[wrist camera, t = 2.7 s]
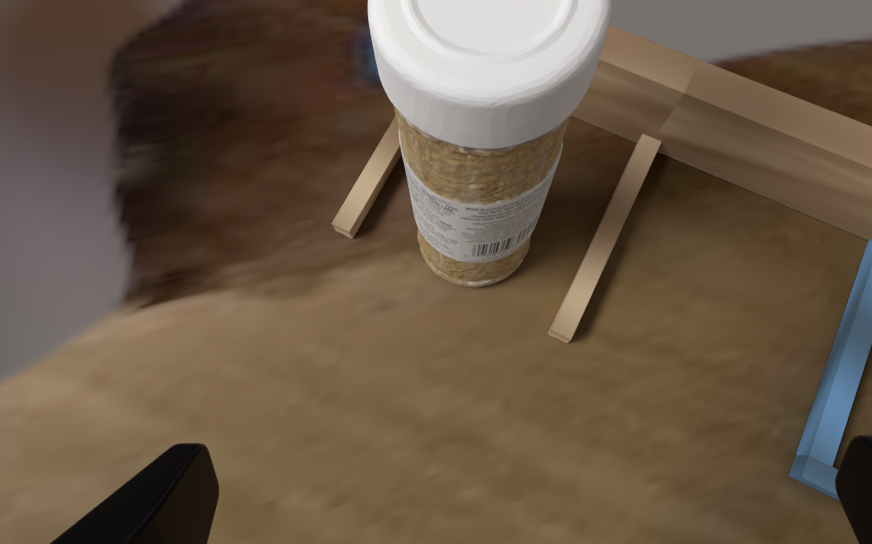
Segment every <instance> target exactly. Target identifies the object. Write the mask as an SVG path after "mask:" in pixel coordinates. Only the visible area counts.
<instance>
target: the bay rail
mask: <svg viewBox="0 0 872 544" xmlns="http://www.w3.org/2000/svg"><path fill="white" fill-rule="evenodd" d="M570 116H573V117H575V118H578V119H580V120H582V121H585V122H587V123H589V124H592V125H594V126H597V127H599V128H601V129H604V130H606V131H608V132H611V133H613V134H616V135H618V136H620V137H623V138H625V139H628V140H630V141H632V142H635V143H637V144H636V147H635V149H634V151H633V153H632V155H631V157H630V159H629V161H628V164H627V166H626V168H625V170H624V172H623V174H622V176H621V179H620V181H619V183H618V185H617V187H616V189H615V191H614V194H613V196H612V198H611V200H610V202H609V204H608V206H607V208H606V211H605V213H604V215H603V217H602V219H601V221H600V223H599V226H598V228H597V230H596V232H595V234H594V236H593V238H592V240H591V243H590V245H589V247H588V249H587V251H586V253H585V255H584V258H583V260H582V262H581V264H580V266H579V268H578V270H577V273H576V275H575V277H574V279H573V281H572V283H571V285H570V287H569V290H568V292H567V294H566V296H565V298H564V300H563V302H562V305H561V307H560V309H559V311H558V313H557V315H556V317H555V319H554V322H553V324H552V326H551V328H550V330H549V332H548V334H549V335H551V336H553V337H555V338H557V339H559V340H561V341H563V342H565V343H568V342H569V341H570V340H571V339H572V337H573V335H574V332H575V330H576V328H577V326H578V324H579V321H580V319H581V317H582V315H583V313H584V310H585V308H586V306H587V304H588V302H589V299H590V297H591V295H592V293H593V291H594V289H595V286H596V284H597V282H598V280H599V278H600V275H601V273H602V271H603V269H604V267H605V264H606V262H607V260H608V258H609V256H610V253H611V251H612V249H613V247H614V245H615V243H616V240H617V238H618V236H619V234H620V232H621V229H622V227H623V225H624V223H625V221H626V218H627V216H628V214H629V212H630V210H631V207H632V205H633V203H634V201H635V199H636V197H637V194H638V192H639V190H640V188H641V186H642V183H643V181H644V179H645V177H646V175H647V172H648V170H649V168H650V166H651V164H652V162H653V159H654V157H655V155H656V153H657V152H659V153H661V154H663V155H666V156H668V157H670V158H673V159H675V160H678V161H680V162H682V163H685V164H687V165H689V166H692V167H694V168H697V169H699V170H701V171H704V172H706V173H709V174H711V175H713V176H716V177H718V178H720V179H723V180H725V181H728V182H730V183H732V184H735V185H737V186H740V187H742V188H744V189H747V190H749V191H751V192H754V193H756V194H759V195H761V196H763V197H766V198H768V199H771V200H773V201H775V202H778V203H780V204H782V205H785V206H787V207H790V208H792V209H794V210H797V211H799V212H801V213H804V214H806V215H809V216H811V217H813V218H816V219H818V220H821V221H823V222H825V223H828V224H830V225H832V226H835V227H837V228H840V229H842V230H844V231H847V232H849V233H852V234H854V235H856V236H859V237H861V238H863V239H866V240H868V244H867V247H866V250H865V252H864V255H863V258H862V261H861V264H860V267H859V270H858V273H857V276H856V279H855V282H854V285H853V288H852V291H851V294H850V297H849V300H848V303H847V306H846V309H845V312H844V314H843V317H842V320H841V323H840V326H839V329H838V332H837V335H836V338H835V341H834V344H833V347H832V350H831V353H830V356H829V359H828V362H827V365H826V368H825V371H824V374H823V376H822V379H821V382H820V385H819V388H818V391H817V394H816V397H815V400H814V403H813V406H812V409H811V412H810V415H809V418H808V421H807V424H806V427H805V430H804V433H803V436H802V439H801V441H800V444H799V447H798V450H797V453H796V456H795V459H794V462H793V465H792V468H791V471H790V474H789V476H790V477H792V478H794V479H796V480H798V481H800V482H802V483H804V484H806V485H808V486H810V487H812V488H814V489H816V490H818V491H820V492H822V493H824V494H826V495H828V496H830V497H832V498H834V499H836V500H838V501H840V500H839V498H838V495H837V492H836V488H835V478H836V474H837V472H838V469H836V468H834V467H832V466H833V463H834V460H835V457H836V454H837V451H838V448H839V444H840V441H841V438H842V435H843V432H844V429H845V426H846V423H847V420H848V416H849V413H850V410H851V407H852V404H853V401H854V398H855V395H856V392H857V388H858V385H859V382H860V379H861V376H862V373H863V370H864V367H865V364H866V361H867V357H868V354H869V351H870V348H871V345H872V127H871V126H868V125H866V124H863V123H861V122H858V121H855V120H853V119H850V118H848V117H845V116H843V115H840V114H837V113H835V112H832V111H830V110H827V109H825V108H822V107H819V106H817V105H814V104H812V103H809V102H807V101H804V100H801V99H799V98H796V97H794V96H791V95H788V94H786V93H783V92H781V91H778V90H776V89H773V88H770V87H768V86H765V85H763V84H760V83H758V82H755V81H752V80H750V79H747V78H745V77H742V76H740V75H737V74H734V73H732V72H729V71H727V70H724V69H722V68H719V67H716V66H714V65H711V64H709V63H706V62H704V61H701V60H698V59H696V58H693V57H691V56H688V55H685V54H683V53H680V52H677V51H675V50H673V49H670V48H667V47H665V46H662V45H660V44H657V43H655V42H652V41H649V40H647V39H644V38H641V37H639V36H637V35H634V34H631V33H629V32H626V31H624V30H621V29H618V28H616V27H613V26H611V25H609V28H608V32H607V36H606V39H605V42H604V45H603V48H602V52H601V55H600V58H599V61H598V64H597V66H596V69H595V72H594V75H593V78H592V81H591V83H590V86H589V88H588V90H587V92H586V94H585V95H584V97H583V98H582V100H581V102H580V103H579V105H578V106H577V108H576V109H575V110H574V112H573V113H572V114H571V115H570ZM401 155H402V152H401V147H400V141H399V126H398V119H397V116H395V118H394V120H393V121H392V123H391V125H390V126H389V128H388V130H387V131H386V133H385V135H384V136H383V138H382V140H381V141H380V143H379V145H378V146H377V148H376V150H375V152H374V153H373V155H372V157H371V158H370V160H369V162H368V163H367V165H366V167H365V168H364V170H363V172H362V173H361V175H360V177H359V178H358V180H357V182H356V183H355V185H354V187H353V189H352V190H351V192H350V194H349V195H348V197H347V199H346V200H345V202H344V204H343V205H342V207H341V209H340V210H339V212H338V214H337V215H336V217H335V219H334V220H333V222H332V225H333V227H334V228H335V230H336V231H338V232H340V233H342V234H344V235H346V236H348V237H350V238H352V239H353V238H354V236H355V234H356V232H357V231H358V229H359V227H360V226H361V224H362V222H363V220H364V219H365V217H366V215H367V213H368V212H369V210H370V208H371V207H372V205H373V203H374V201H375V200H376V198H377V196H378V195H379V193H380V191H381V189H382V188H383V186H384V184H385V182H386V181H387V179H388V177H389V176H390V174H391V172H392V170H393V169H394V167H395V165H396V164H397V162H398V160H399V158H400V157H401Z"/></svg>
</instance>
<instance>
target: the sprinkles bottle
mask: <svg viewBox="0 0 872 544" xmlns="http://www.w3.org/2000/svg"><path fill="white" fill-rule="evenodd" d="M611 7H612V1H611V0H368V19H369V27H370V32H371V38H372V43H373V49H374V53H375V58H376V63H377V67H378V71H379V76H380V79H381V82H382V85H383V87H384V89H385V91H386V93H387V95H388V97H389V99H390V100H391V102H392V103H393V104H394V107H395V113H396V116H397V119H398V126H399V141H400V147H401V152H402V157H403V162H404V166H405V171H406V176H407V180H408V186H409V191H410V197H411V202H412V207H413V212H414V216H415V220H416V223H417V226H418V242H419V245H420V251H421V253H422V255H423V257H424V259H425V261H426V263H427V264H428V265H429V266H430V268H431V269H432V270H433V271H434V272H435V273H436V274H437V275H438V276H440V277H442V278H443V279H445V280H446V281H449V282H451V283H454V284H456V285H460V286H466V287H482V286H487V285H492V284H494V283H496V282H498V281H502V280H504V279H505V278H507V277H508V276H509V275H510V274H511V273H513V272H514V271H515V270H516V269H517V268H518V267H519V266H520V264H521V263H522V261H523V259H524V257H525V255H526V253H527V252H528V249H529V245H530V240H531V234H532V232H533V230H534V228H535V226H536V223H537V221H538V218H539V215H540V213H541V210H542V207H543V205H544V202H545V199H546V196H547V193H548V191H549V188H550V185H551V182H552V179H553V176H554V173H555V171H556V168H557V165H558V162H559V159H560V156H561V152H562V148H563V143H562V141H563V137H564V134H565V131H566V128H567V124H568V121H569V118H570V115H571V114H572V113H573V112H574V110H575V109H576V108H577V106H578V105H579V103H580V102H581V100H582V98H583V97H584V95H585V94H586V92H587V90H588V88H589V86H590V83H591V81H592V78H593V75H594V72H595V69H596V66H597V64H598V61H599V58H600V55H601V52H602V48H603V45H604V42H605V39H606V36H607V32H608V28H609V23H610V17H611Z"/></svg>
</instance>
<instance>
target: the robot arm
mask: <svg viewBox="0 0 872 544" xmlns="http://www.w3.org/2000/svg"><path fill="white" fill-rule="evenodd" d="M835 488H836V492H837V495H838V498H839V500H840V503H841V505H842V507H843V509H844V511H845V514H846V516H847V518H848V520H849V522H850V525H851V527H852V529H853V531H854V533H855V536H856V538H857V540H858V542H859V544H872V435H860V436H856V437H854V438H853V439H852V440H851V441H850V443H849V445H848V447H847V450H846V452H845V455H844V457H843V460H842V462H841V464H840V467H839V469H838V472H837V474H836V478H835ZM218 497H219V484H218V480H217V477H216V474H215V470H214V467H213V464H212V460H211V457H210V454H209V451H208V449H207V447H206V446H205V445H204V444H201V443H188V444H176V445H174V446H172V447H170V448H169V449H168V450H167V451H165V452H164V453H163V454H162V455H160V456H159V457H158V458H157V459H155V460H154V461H153V462H152V463H150V464H149V465H148V466H147V467H145V468H144V469H143V470H141V471H140V472H139V473H138V474H136V475H135V476H134V477H133V478H131V479H130V480H129V481H128V482H126V483H125V484H124V485H123V486H121V487H120V488H119V489H118V490H116V491H115V492H114V493H113V494H111V495H110V496H109V497H108V498H106V499H105V500H104V501H103V502H101V503H100V504H99V505H98V506H96V507H95V508H94V509H93V510H91V511H90V512H89V513H88V514H86V515H85V516H84V517H83V518H81V519H80V520H79V521H78V522H76V523H75V524H74V525H73V526H71V527H70V528H69V529H68V530H66V531H65V532H64V533H63V534H61V535H60V536H59V537H58V538H56V539H55V540H54V541H53V542H51V543H50V544H207V541H208V538H209V534H210V530H211V526H212V522H213V518H214V514H215V510H216V506H217V502H218Z"/></svg>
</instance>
